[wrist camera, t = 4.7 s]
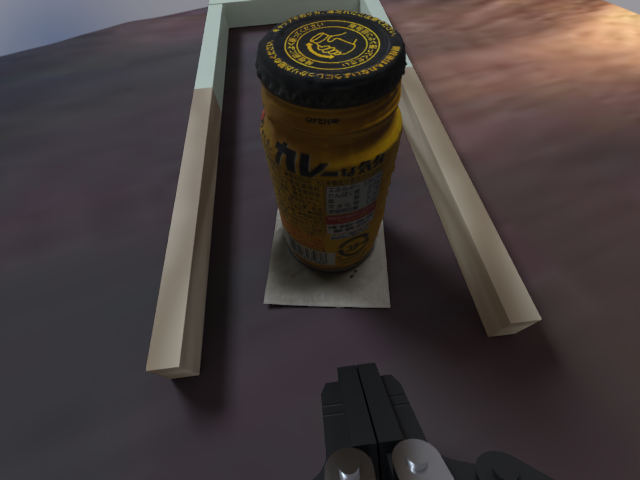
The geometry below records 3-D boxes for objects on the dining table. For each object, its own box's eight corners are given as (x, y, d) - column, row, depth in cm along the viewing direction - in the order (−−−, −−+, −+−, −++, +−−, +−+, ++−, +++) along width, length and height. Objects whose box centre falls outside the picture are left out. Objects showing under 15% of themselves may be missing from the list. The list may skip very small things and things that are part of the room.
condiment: (380, 195, 22) (421, -6, 12) (389, 309, 18) (467, 143, 7) (280, 194, 22) (236, -1, 12) (264, 305, 18) (175, 143, 8)
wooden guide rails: (170, 378, 16) (145, 371, 14) (205, 115, 28) (194, 89, 25) (515, 333, 17) (541, 319, 14) (406, 94, 28) (412, 66, 26)
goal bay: (205, 115, 28) (194, 89, 25) (217, 23, 37) (210, -2, 35) (406, 94, 28) (412, 66, 26) (368, 8, 38) (370, -17, 35)
